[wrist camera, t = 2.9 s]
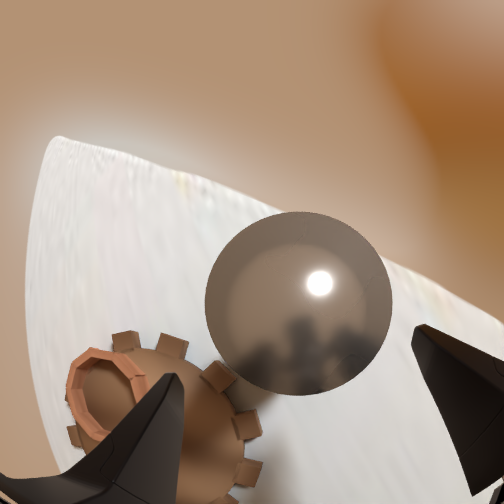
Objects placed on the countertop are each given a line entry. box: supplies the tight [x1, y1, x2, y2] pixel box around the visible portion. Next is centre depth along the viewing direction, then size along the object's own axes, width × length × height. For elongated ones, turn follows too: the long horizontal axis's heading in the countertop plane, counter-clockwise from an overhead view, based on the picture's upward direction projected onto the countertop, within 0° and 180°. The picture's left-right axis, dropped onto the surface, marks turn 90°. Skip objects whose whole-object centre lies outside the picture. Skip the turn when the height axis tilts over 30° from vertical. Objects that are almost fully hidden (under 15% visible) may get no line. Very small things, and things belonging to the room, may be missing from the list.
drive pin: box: [205, 212, 392, 396], centre depth 12 cm, size 4×4×13 cm
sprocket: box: [65, 330, 263, 504], centre depth 15 cm, size 16×16×3 cm
